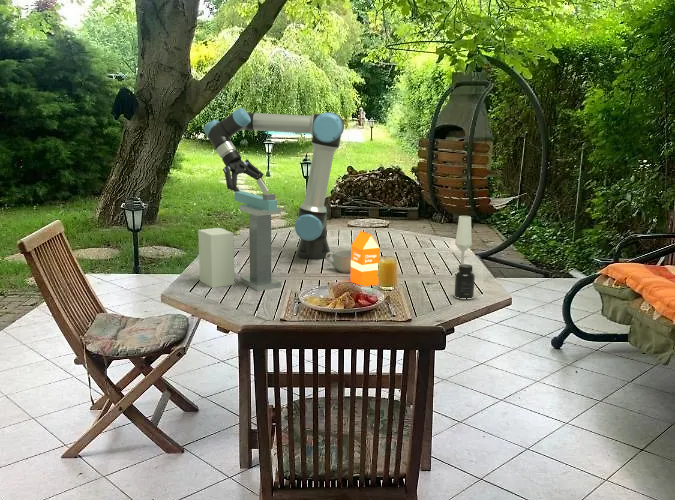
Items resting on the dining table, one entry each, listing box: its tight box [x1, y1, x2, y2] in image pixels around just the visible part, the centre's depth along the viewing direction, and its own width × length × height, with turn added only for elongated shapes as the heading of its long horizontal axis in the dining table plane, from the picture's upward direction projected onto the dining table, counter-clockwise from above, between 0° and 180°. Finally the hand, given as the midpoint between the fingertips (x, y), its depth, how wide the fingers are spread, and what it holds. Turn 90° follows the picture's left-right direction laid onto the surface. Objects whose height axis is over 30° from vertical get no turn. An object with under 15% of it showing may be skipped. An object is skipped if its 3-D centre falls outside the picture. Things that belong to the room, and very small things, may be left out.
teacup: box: [325, 248, 351, 274], centre depth 268 cm, size 14×11×8 cm
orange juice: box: [350, 230, 380, 287], centre depth 248 cm, size 8×9×20 cm
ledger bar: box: [233, 190, 278, 211], centre depth 241 cm, size 28×4×6 cm, turn 34°
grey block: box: [197, 227, 235, 289], centre depth 245 cm, size 12×9×20 cm
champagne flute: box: [454, 215, 473, 273], centre depth 264 cm, size 7×7×24 cm
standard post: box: [238, 204, 282, 292], centre depth 242 cm, size 14×10×30 cm
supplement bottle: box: [453, 263, 476, 299], centre depth 232 cm, size 7×7×12 cm
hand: (255, 196), depth 271 cm, fingers open, 13 cm apart
